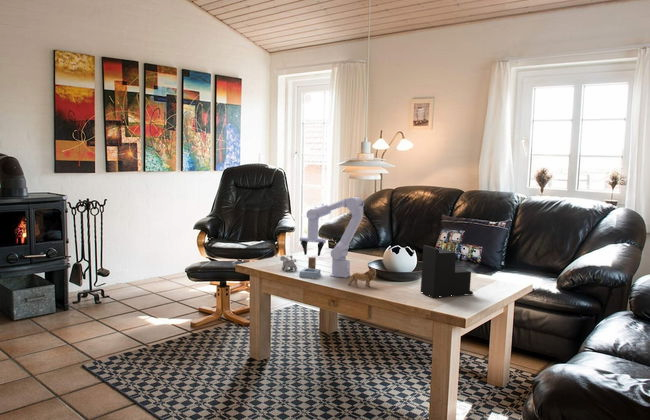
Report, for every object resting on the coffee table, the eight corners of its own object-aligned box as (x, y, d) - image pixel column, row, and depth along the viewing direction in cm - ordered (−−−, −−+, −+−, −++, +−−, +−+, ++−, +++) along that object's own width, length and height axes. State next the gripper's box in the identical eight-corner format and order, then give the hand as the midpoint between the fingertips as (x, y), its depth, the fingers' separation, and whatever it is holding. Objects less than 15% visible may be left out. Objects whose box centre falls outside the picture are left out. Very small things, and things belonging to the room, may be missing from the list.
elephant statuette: (287, 272, 291) (288, 259, 290) (273, 267, 300) (274, 254, 298) (299, 270, 298) (300, 257, 297) (285, 266, 306) (286, 253, 305)
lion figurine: (373, 284, 269) (374, 267, 268) (377, 287, 264) (378, 269, 263) (346, 285, 265) (346, 267, 265) (349, 288, 260) (350, 270, 259)
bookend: (459, 289, 264) (462, 243, 262) (473, 295, 255) (476, 246, 252) (419, 293, 255) (422, 244, 253) (432, 298, 245) (435, 248, 243)
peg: (316, 271, 295) (316, 257, 295) (314, 272, 291) (314, 258, 291) (309, 270, 296) (309, 256, 296) (307, 272, 292) (307, 258, 292)
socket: (320, 274, 287) (320, 269, 287) (315, 278, 278) (315, 272, 278) (304, 273, 289) (304, 268, 289) (299, 276, 281) (299, 271, 280)
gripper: (327, 230, 294) (326, 254, 295) (302, 228, 297) (301, 252, 299) (324, 232, 287) (323, 257, 288) (298, 230, 291) (298, 254, 292)
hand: (312, 255), depth 293 cm, fingers open, 7 cm apart
